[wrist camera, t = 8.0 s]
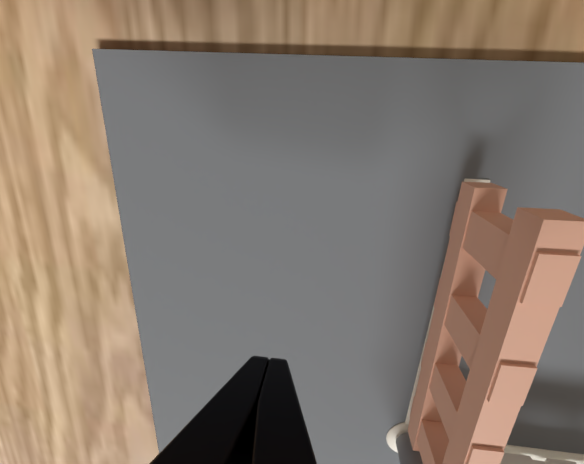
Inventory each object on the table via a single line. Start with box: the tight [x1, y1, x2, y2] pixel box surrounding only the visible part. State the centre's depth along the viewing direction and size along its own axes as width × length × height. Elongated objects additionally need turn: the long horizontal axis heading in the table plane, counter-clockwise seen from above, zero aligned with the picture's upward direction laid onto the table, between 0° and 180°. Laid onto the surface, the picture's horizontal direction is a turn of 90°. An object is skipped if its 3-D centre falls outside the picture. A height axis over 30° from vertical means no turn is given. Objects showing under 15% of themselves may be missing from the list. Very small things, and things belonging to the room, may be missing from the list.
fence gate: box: [396, 182, 584, 464], centre depth 10 cm, size 13×1×4 cm, turn 179°
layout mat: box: [92, 49, 584, 464], centre depth 13 cm, size 22×22×1 cm
